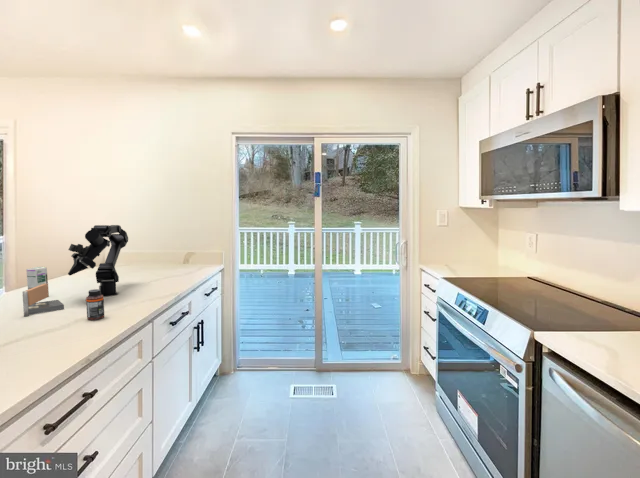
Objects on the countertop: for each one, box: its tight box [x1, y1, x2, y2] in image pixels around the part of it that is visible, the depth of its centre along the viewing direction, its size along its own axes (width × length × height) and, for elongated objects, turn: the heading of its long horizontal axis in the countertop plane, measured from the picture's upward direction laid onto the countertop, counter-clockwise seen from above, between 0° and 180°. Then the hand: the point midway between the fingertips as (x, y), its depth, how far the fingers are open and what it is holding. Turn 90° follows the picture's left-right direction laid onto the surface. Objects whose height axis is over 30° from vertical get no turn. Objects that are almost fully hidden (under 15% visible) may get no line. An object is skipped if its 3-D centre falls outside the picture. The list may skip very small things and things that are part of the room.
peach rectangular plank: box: [25, 282, 50, 305], centre depth 157 cm, size 2×14×6 cm, turn 11°
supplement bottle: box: [85, 288, 105, 321], centre depth 147 cm, size 6×6×11 cm
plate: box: [22, 290, 65, 317], centre depth 158 cm, size 14×14×10 cm
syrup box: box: [25, 266, 49, 290], centre depth 179 cm, size 6×6×14 cm
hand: (68, 274), depth 168 cm, fingers closed
